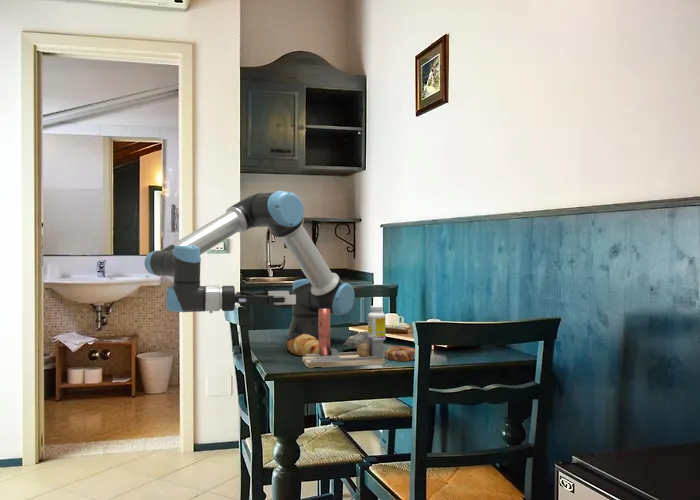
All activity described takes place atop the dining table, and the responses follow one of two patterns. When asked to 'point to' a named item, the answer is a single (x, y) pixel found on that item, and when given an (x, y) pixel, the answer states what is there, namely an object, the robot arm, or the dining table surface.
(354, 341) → the rock
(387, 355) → the pretzel
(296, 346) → the croissant
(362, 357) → the base
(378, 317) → the supplement bottle
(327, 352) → the handle
